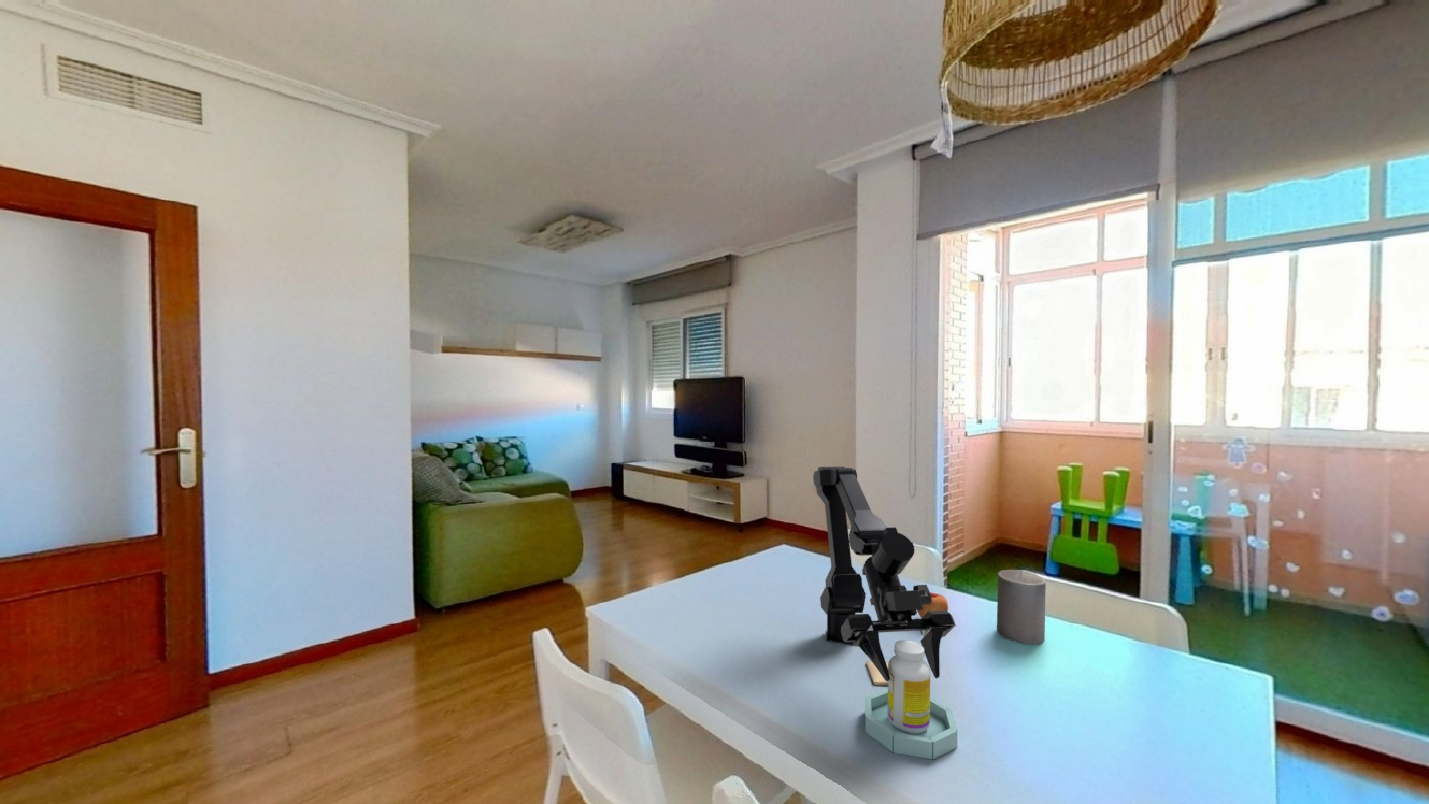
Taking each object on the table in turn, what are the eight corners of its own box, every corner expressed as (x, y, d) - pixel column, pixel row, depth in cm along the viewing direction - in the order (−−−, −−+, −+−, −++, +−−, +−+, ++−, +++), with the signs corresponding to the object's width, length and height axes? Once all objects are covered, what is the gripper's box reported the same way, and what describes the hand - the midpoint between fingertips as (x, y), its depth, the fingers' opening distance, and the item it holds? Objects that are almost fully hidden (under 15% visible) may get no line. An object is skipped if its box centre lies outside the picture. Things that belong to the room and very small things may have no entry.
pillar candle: (989, 625, 127) (989, 563, 127) (1030, 625, 127) (1031, 564, 126) (1010, 645, 117) (1011, 578, 117) (1055, 645, 117) (1056, 578, 117)
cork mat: (874, 684, 101) (874, 681, 101) (866, 663, 109) (866, 660, 109) (928, 687, 100) (928, 684, 100) (916, 666, 108) (916, 663, 108)
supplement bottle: (937, 725, 88) (939, 649, 87) (914, 741, 84) (916, 661, 83) (902, 706, 93) (903, 633, 93) (878, 719, 89) (880, 644, 89)
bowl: (865, 747, 83) (865, 731, 83) (864, 698, 97) (864, 684, 97) (962, 764, 79) (962, 747, 79) (947, 710, 93) (947, 696, 93)
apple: (949, 630, 124) (949, 597, 124) (916, 626, 127) (916, 593, 127) (946, 618, 131) (946, 586, 131) (914, 614, 134) (915, 582, 134)
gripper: (847, 568, 91) (871, 665, 80) (950, 565, 92) (988, 659, 82) (832, 596, 99) (852, 688, 88) (927, 593, 100) (959, 682, 90)
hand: (912, 679), depth 87 cm, fingers open, 8 cm apart
